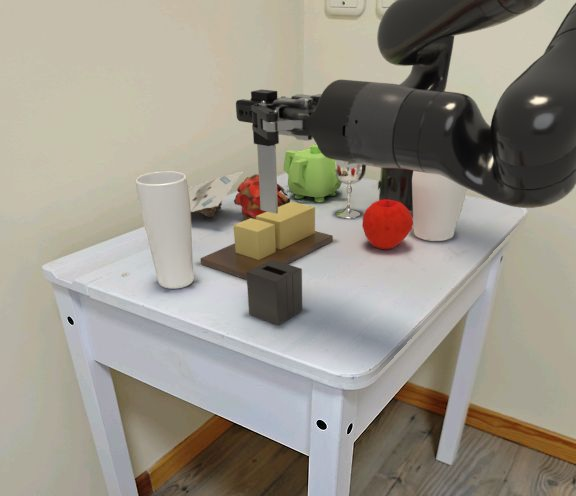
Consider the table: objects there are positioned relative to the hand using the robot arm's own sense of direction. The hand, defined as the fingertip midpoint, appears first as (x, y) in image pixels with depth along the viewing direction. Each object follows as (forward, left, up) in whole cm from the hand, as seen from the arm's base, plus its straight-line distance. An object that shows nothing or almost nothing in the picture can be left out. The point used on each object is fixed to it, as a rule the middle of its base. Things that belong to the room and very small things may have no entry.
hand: (245, 108), depth 65 cm
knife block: (+1, +6, -24) cm, 24 cm away
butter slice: (-6, -11, -23) cm, 26 cm away
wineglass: (-31, -19, -24) cm, 43 cm away
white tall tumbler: (+8, -10, -24) cm, 27 cm away
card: (-12, -33, -24) cm, 42 cm away
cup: (-36, -2, -24) cm, 43 cm away
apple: (-26, -3, -24) cm, 35 cm away
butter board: (-9, -12, -24) cm, 28 cm away
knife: (-1, +3, -12) cm, 12 cm away
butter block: (-14, -13, -23) cm, 30 cm away
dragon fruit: (-17, -25, -24) cm, 39 cm away
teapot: (-33, -32, -24) cm, 52 cm away
